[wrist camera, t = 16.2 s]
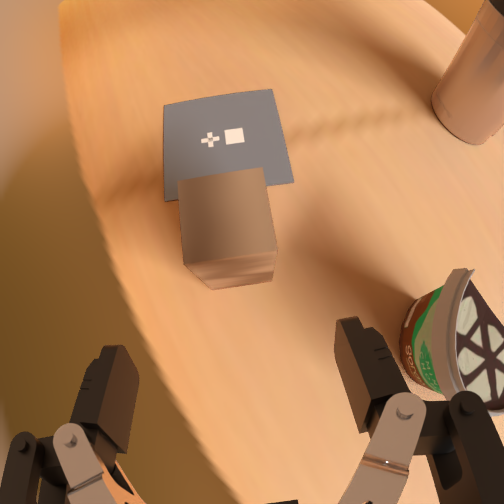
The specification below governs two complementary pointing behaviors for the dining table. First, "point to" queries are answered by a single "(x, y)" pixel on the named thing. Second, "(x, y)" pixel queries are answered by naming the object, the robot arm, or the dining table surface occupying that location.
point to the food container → (455, 342)
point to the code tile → (224, 139)
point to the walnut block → (227, 228)
